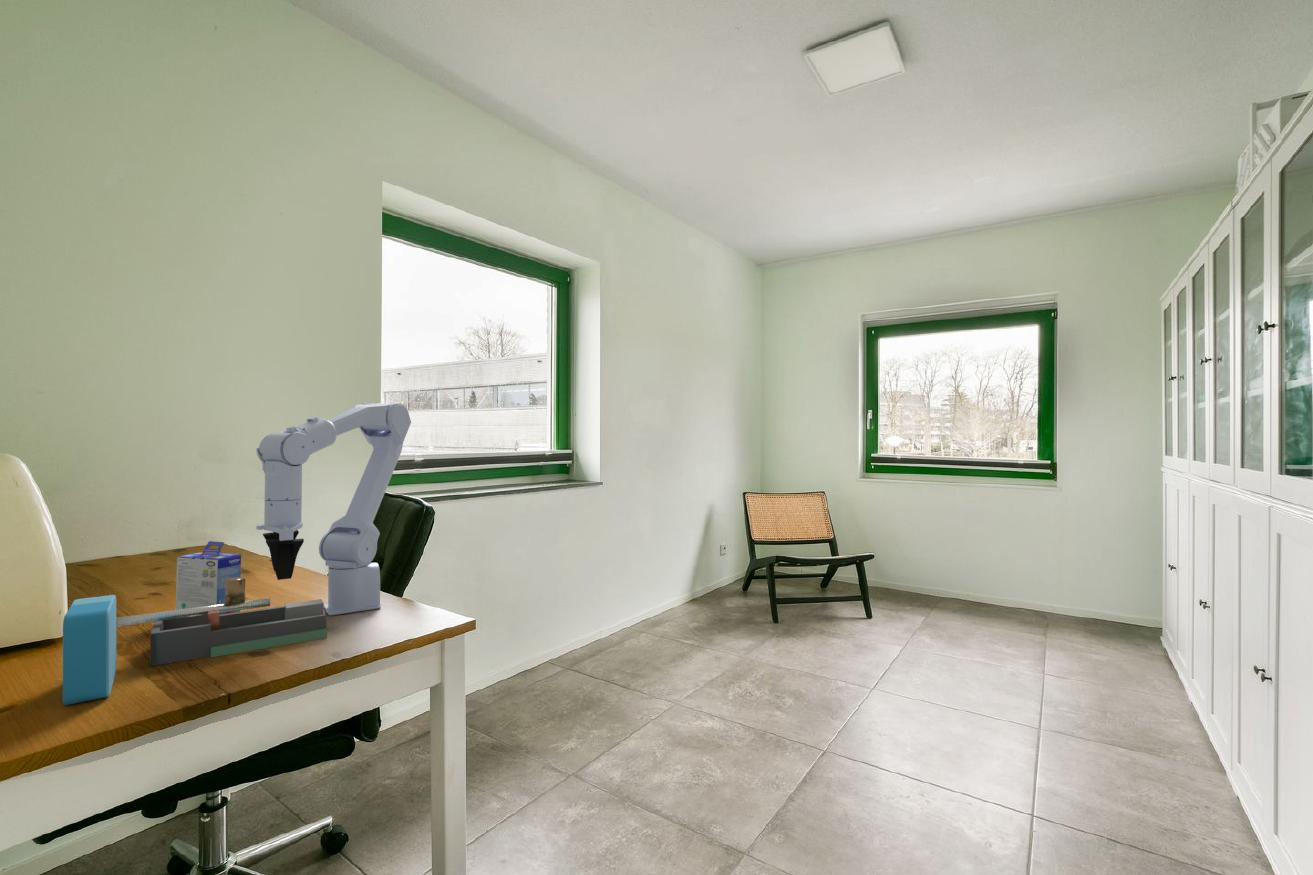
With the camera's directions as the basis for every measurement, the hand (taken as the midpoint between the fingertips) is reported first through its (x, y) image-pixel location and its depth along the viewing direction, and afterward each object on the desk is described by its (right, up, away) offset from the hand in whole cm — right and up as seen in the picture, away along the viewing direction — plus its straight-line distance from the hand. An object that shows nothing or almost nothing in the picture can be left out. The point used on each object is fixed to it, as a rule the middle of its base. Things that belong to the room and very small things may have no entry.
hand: (282, 574), depth 110 cm
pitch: (-4, -10, -5) cm, 12 cm away
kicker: (-9, -9, -9) cm, 16 cm away
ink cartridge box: (-19, -10, +8) cm, 23 cm away
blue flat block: (-12, -11, -24) cm, 29 cm away
